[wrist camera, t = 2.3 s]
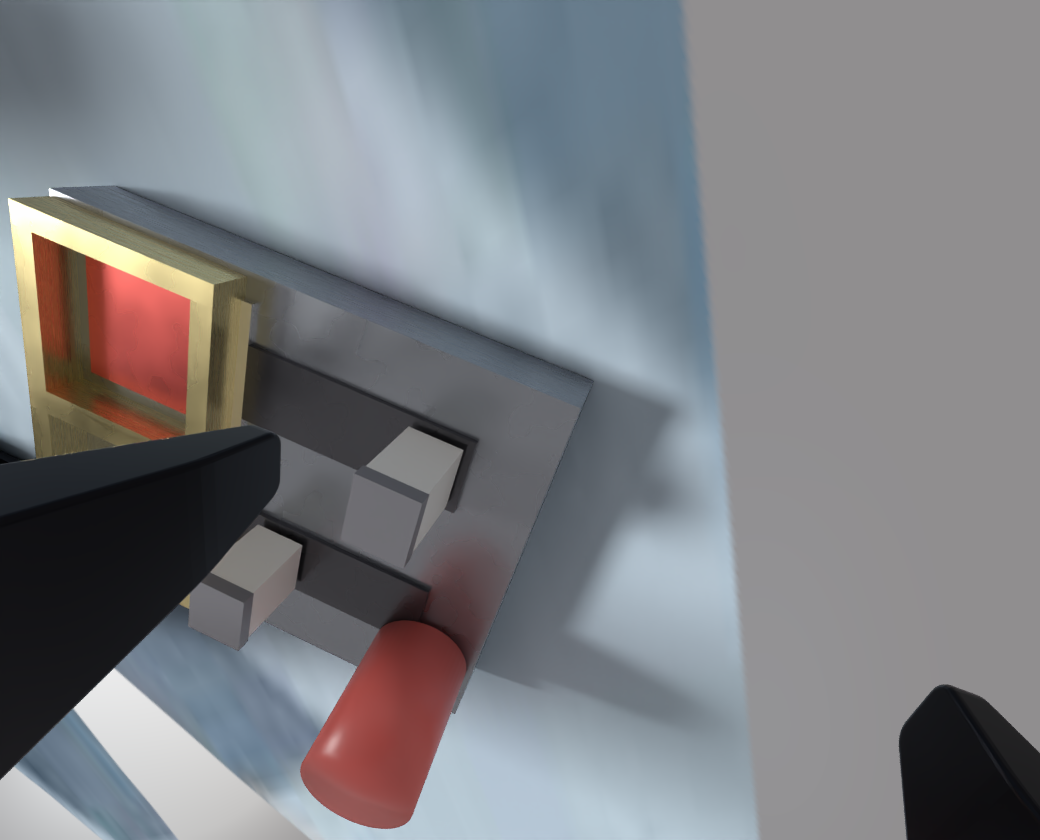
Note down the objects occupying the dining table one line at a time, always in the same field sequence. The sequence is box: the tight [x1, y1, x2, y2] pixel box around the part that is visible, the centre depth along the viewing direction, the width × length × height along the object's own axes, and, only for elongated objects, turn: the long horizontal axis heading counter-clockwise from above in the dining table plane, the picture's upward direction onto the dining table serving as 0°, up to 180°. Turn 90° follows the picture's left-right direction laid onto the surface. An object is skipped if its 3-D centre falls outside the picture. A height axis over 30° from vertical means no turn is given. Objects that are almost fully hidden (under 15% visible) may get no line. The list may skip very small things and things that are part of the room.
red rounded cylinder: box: [300, 620, 467, 829], centre depth 21 cm, size 4×4×6 cm
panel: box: [8, 186, 593, 714], centre depth 23 cm, size 16×20×4 cm
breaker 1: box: [188, 525, 302, 651], centre depth 22 cm, size 2×2×3 cm
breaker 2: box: [340, 427, 464, 569], centre depth 18 cm, size 2×2×3 cm
